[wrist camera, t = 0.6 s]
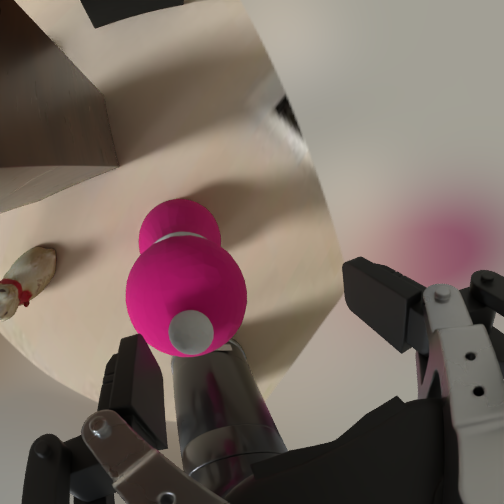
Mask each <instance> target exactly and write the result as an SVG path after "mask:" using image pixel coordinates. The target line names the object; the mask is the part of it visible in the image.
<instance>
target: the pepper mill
mask: <svg viewBox="0 0 504 504" xmlns="http://www.w3.org/2000/svg"><path fill="white" fill-rule="evenodd" d="M139 249H140V254H141V255H140V256H139V258H138V259H137V261H136V262H135V263H134V265H133V267H132V269H131V271H130V273H129V276H128V280H127V285H126V305H127V310H128V314H129V317H130V319H131V322H132V324H133V326H134V327H135V329H136V331H137V332H138V333H140V334H141V335H142V336H143V337H144V339H145V341H146V342H147V343H148V344H150V345H151V346H153V347H154V348H156V349H157V350H159V351H161V352H164V353H166V354H169V355H173V356H179V357H195V356H201V355H204V354H207V353H210V352H212V351H214V350H216V349H218V348H220V347H221V346H223V345H224V344H225V343H227V342H228V341H229V340H230V339H231V338H232V337H233V336H234V335H235V333H236V332H237V330H238V329H239V327H240V325H241V323H242V321H243V318H244V314H245V310H246V305H247V290H246V285H245V280H244V277H243V275H242V272H241V270H240V268H239V266H238V265H237V263H236V262H235V261H234V259H233V258H232V256H231V255H230V254H229V253H228V252H227V251H226V250H225V249H223V248H222V247H221V235H220V231H219V227H218V224H217V222H216V220H215V218H214V217H213V216H212V214H211V213H210V212H209V211H208V210H207V209H206V208H205V207H204V206H202V205H200V204H199V203H197V202H194V201H191V200H187V199H174V200H169V201H166V202H163V203H161V204H159V205H158V206H156V207H155V208H154V209H152V210H151V211H150V213H149V214H148V215H147V216H146V218H145V219H144V221H143V223H142V226H141V229H140V234H139Z"/></svg>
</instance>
